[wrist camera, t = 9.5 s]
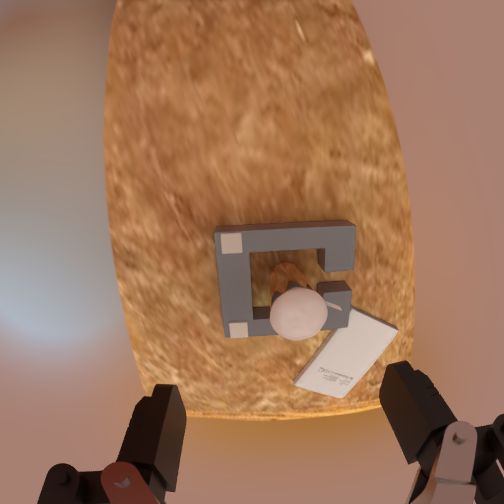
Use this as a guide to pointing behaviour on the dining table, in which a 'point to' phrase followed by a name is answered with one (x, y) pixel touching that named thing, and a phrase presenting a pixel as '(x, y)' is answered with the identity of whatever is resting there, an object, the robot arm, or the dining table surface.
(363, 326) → the external hard drive
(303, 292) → the milkshake
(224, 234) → the frame
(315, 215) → the dining table surface
